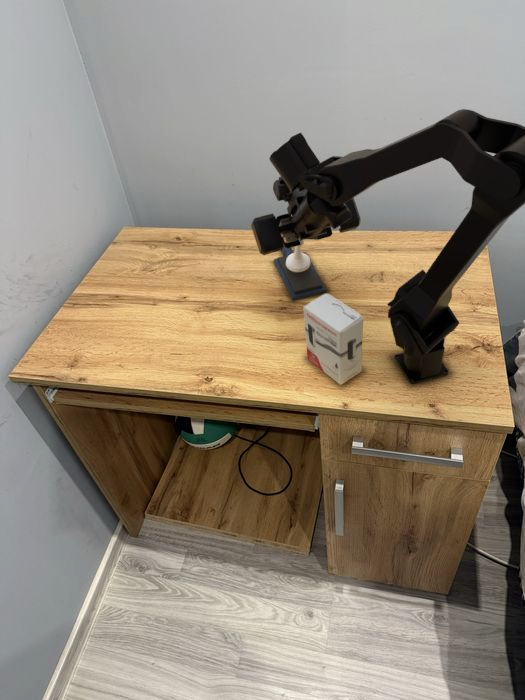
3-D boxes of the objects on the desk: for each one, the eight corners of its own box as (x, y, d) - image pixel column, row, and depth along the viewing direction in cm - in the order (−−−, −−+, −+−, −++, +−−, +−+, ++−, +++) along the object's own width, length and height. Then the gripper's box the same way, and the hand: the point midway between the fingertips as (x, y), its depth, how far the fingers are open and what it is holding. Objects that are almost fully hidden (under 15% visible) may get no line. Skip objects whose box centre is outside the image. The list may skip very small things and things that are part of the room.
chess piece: (297, 250, 102) (296, 212, 94) (315, 262, 100) (316, 223, 91) (280, 264, 100) (278, 225, 92) (298, 276, 98) (298, 237, 90)
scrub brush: (327, 292, 97) (326, 283, 96) (292, 300, 96) (291, 292, 95) (295, 239, 112) (295, 231, 111) (265, 245, 111) (265, 238, 110)
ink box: (305, 359, 85) (301, 304, 76) (327, 345, 86) (326, 290, 78) (340, 386, 79) (340, 331, 71) (362, 371, 81) (365, 315, 73)
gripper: (354, 148, 82) (327, 185, 97) (246, 175, 79) (236, 210, 94) (375, 212, 82) (345, 239, 97) (268, 242, 78) (255, 266, 94)
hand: (296, 237), depth 95 cm, fingers closed on chess piece
